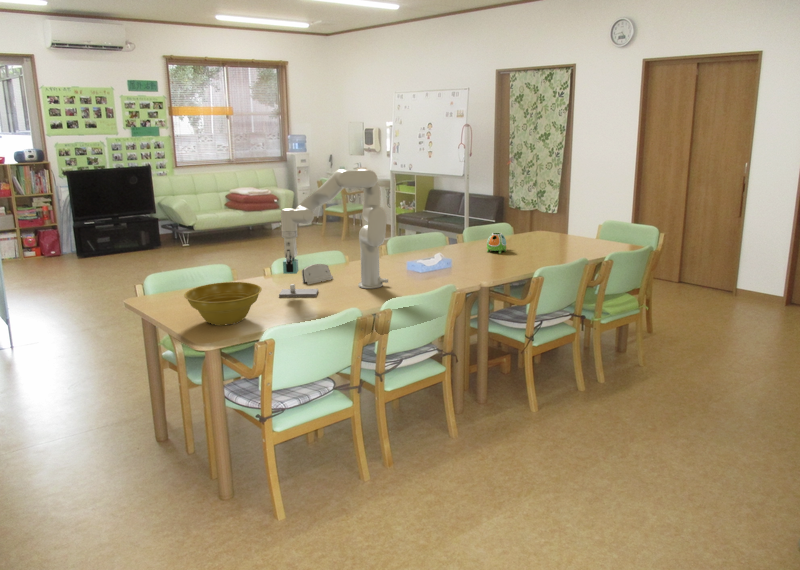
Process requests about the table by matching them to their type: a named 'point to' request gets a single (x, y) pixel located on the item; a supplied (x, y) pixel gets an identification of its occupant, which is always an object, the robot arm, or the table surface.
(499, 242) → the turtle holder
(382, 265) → the table surface
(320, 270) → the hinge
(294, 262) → the housing
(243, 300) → the planter bowl
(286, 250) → the robot arm
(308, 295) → the base plate
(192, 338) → the table surface
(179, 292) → the table surface
